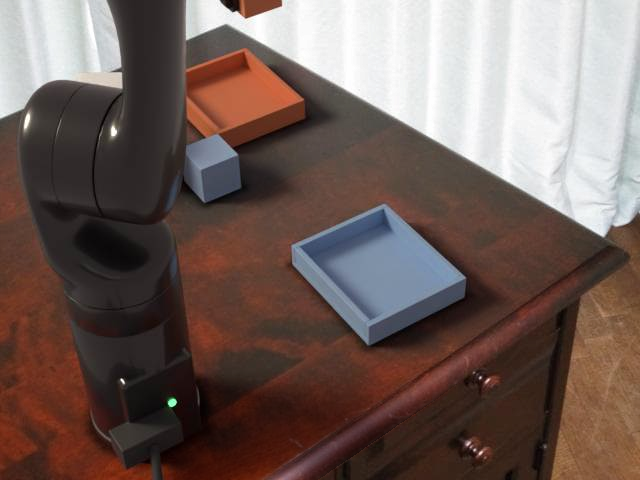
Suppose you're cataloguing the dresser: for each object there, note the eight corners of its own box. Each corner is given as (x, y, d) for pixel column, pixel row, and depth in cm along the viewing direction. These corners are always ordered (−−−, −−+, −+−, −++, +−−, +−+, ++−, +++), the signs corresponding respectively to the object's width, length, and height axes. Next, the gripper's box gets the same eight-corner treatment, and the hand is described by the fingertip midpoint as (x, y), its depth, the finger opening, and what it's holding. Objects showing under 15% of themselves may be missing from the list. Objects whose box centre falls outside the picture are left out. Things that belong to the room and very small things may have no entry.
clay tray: (305, 118, 132) (304, 99, 130) (220, 152, 127) (218, 133, 126) (247, 65, 140) (245, 47, 138) (165, 96, 136) (162, 77, 134)
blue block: (241, 188, 123) (238, 154, 120) (204, 203, 121) (200, 170, 118) (220, 166, 125) (217, 133, 122) (184, 181, 124) (180, 148, 121)
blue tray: (464, 297, 110) (466, 277, 108) (368, 346, 105) (368, 326, 104) (384, 222, 118) (384, 203, 116) (292, 264, 114) (291, 245, 112)
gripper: (193, -123, 104) (210, 38, 116) (326, -161, 110) (329, -4, 121) (157, -152, 109) (176, 6, 121) (286, -187, 114) (292, -33, 126)
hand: (253, 0), depth 121 cm, fingers closed on clay block, 4 cm apart
